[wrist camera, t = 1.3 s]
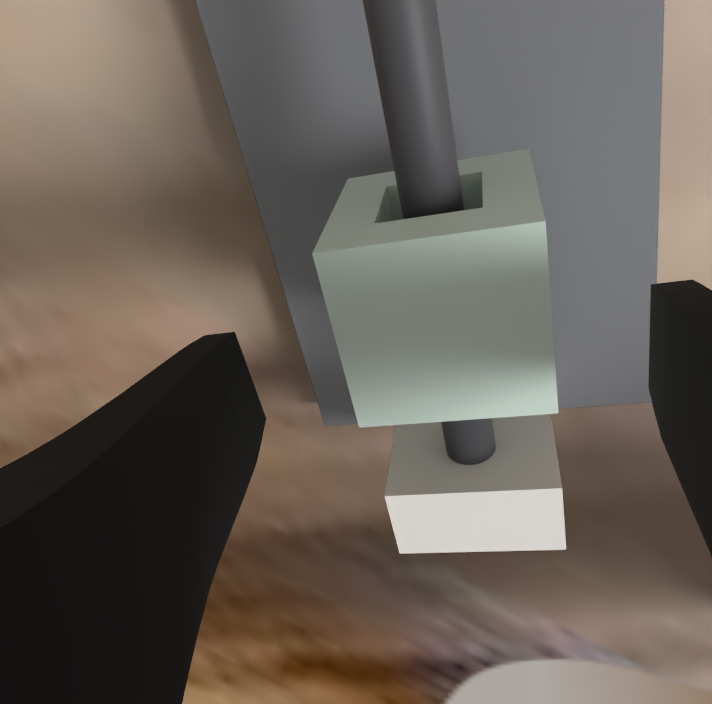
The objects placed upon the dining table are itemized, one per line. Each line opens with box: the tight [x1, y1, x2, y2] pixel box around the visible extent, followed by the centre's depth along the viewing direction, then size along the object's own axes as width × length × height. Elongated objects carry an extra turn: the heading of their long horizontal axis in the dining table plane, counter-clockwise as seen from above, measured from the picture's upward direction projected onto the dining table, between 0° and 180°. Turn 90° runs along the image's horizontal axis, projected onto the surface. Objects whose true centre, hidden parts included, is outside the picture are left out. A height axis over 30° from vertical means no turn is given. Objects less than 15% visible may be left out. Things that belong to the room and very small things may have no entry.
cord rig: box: [195, 0, 664, 554], centre depth 13 cm, size 22×10×6 cm, turn 12°
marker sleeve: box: [312, 149, 559, 428], centre depth 14 cm, size 4×4×4 cm
